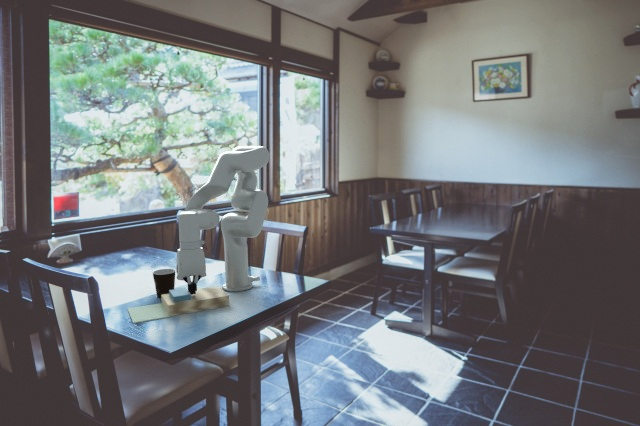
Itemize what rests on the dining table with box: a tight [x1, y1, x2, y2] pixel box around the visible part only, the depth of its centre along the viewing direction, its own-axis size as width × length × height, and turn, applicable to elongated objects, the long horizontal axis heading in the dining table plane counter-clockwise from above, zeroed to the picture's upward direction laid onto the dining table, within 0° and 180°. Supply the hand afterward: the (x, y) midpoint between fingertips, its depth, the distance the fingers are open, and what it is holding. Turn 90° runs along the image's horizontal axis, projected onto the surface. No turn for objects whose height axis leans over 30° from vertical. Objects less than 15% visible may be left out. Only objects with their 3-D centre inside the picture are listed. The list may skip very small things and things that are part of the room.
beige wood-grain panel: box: [160, 285, 230, 317], centre depth 182 cm, size 22×14×4 cm, turn 118°
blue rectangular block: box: [169, 287, 191, 302], centre depth 179 cm, size 6×9×2 cm, turn 27°
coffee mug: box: [152, 268, 176, 299], centre depth 195 cm, size 12×9×10 cm
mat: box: [127, 302, 171, 324], centre depth 175 cm, size 12×16×1 cm
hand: (192, 293), depth 181 cm, fingers closed
